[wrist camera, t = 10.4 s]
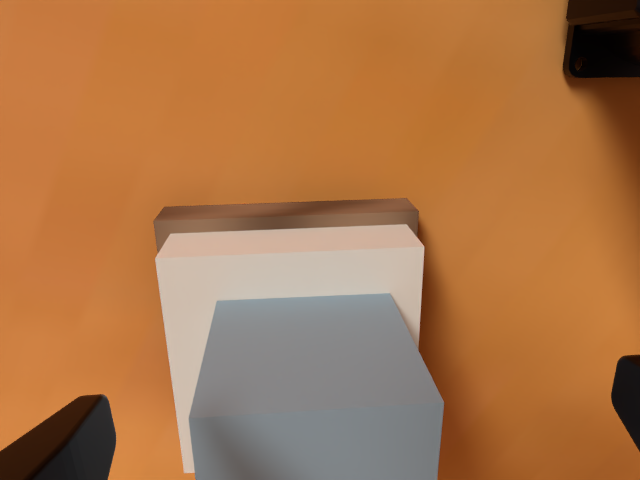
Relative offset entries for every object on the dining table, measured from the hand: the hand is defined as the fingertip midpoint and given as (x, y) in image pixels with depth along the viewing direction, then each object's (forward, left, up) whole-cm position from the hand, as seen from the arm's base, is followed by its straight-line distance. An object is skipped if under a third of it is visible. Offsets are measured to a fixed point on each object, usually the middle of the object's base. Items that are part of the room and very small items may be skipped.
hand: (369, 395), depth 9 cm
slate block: (+1, +5, -8) cm, 10 cm away
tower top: (+1, +5, -11) cm, 12 cm away
